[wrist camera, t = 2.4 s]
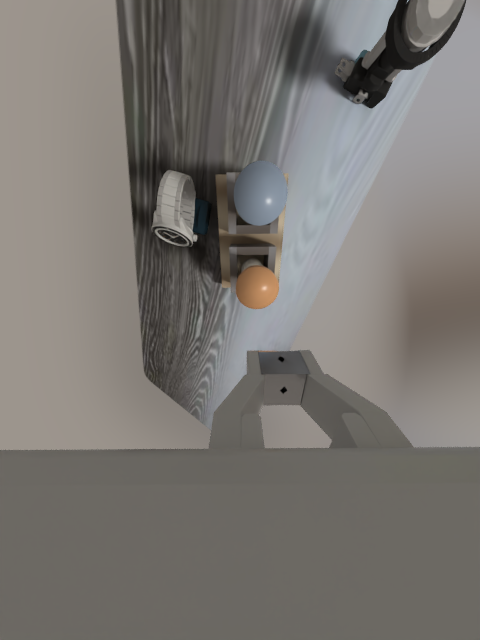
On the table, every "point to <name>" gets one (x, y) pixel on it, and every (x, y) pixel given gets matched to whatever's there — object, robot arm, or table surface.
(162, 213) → the watch
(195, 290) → the table surface
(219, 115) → the table surface
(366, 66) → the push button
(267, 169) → the knob
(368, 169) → the table surface
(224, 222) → the mount
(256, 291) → the knob
